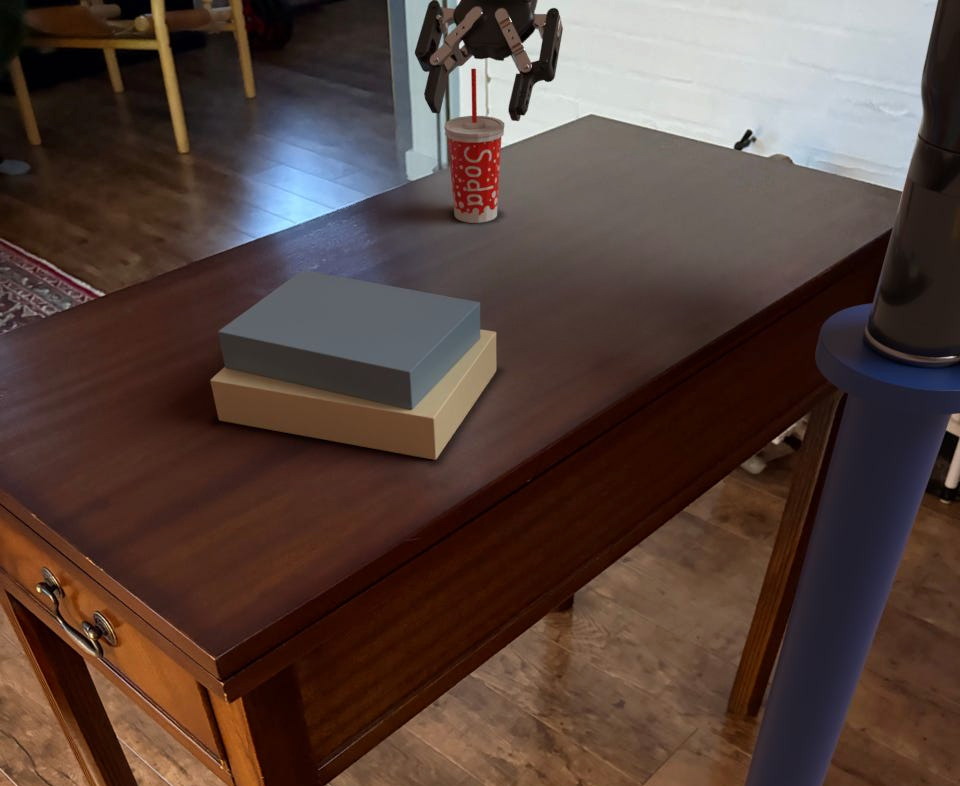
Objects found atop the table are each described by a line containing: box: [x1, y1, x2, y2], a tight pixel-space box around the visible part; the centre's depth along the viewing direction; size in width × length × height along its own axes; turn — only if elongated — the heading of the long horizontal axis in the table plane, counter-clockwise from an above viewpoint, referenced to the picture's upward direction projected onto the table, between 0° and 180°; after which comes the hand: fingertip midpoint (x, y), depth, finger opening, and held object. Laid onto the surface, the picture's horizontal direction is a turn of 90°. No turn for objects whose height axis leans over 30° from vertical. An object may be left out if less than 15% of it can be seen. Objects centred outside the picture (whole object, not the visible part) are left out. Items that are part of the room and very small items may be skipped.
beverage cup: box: [443, 68, 505, 224], centre depth 103 cm, size 6×6×14 cm
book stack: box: [209, 269, 497, 461], centre depth 78 cm, size 18×14×6 cm
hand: (473, 112), depth 101 cm, fingers open, 8 cm apart
